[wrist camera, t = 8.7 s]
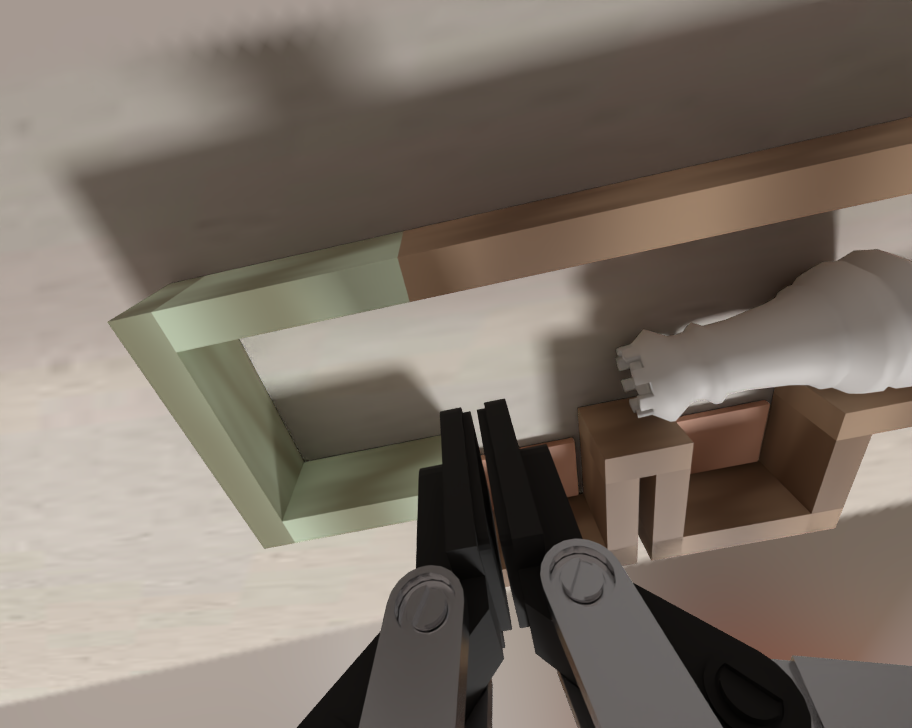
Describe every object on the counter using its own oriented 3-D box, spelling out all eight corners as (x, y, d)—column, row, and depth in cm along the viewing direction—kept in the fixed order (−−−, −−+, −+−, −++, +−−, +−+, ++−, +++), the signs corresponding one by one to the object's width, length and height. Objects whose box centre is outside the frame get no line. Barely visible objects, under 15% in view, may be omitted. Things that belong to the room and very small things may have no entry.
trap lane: (1136, 66, 12) (1336, 49, 9) (942, 443, 19) (1024, 494, 16) (170, 283, 13) (107, 322, 11) (328, 558, 20) (314, 621, 18)
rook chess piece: (822, 260, 15) (599, 324, 17) (940, 223, 11) (623, 315, 12) (858, 379, 15) (631, 432, 16) (992, 391, 11) (666, 462, 12)
